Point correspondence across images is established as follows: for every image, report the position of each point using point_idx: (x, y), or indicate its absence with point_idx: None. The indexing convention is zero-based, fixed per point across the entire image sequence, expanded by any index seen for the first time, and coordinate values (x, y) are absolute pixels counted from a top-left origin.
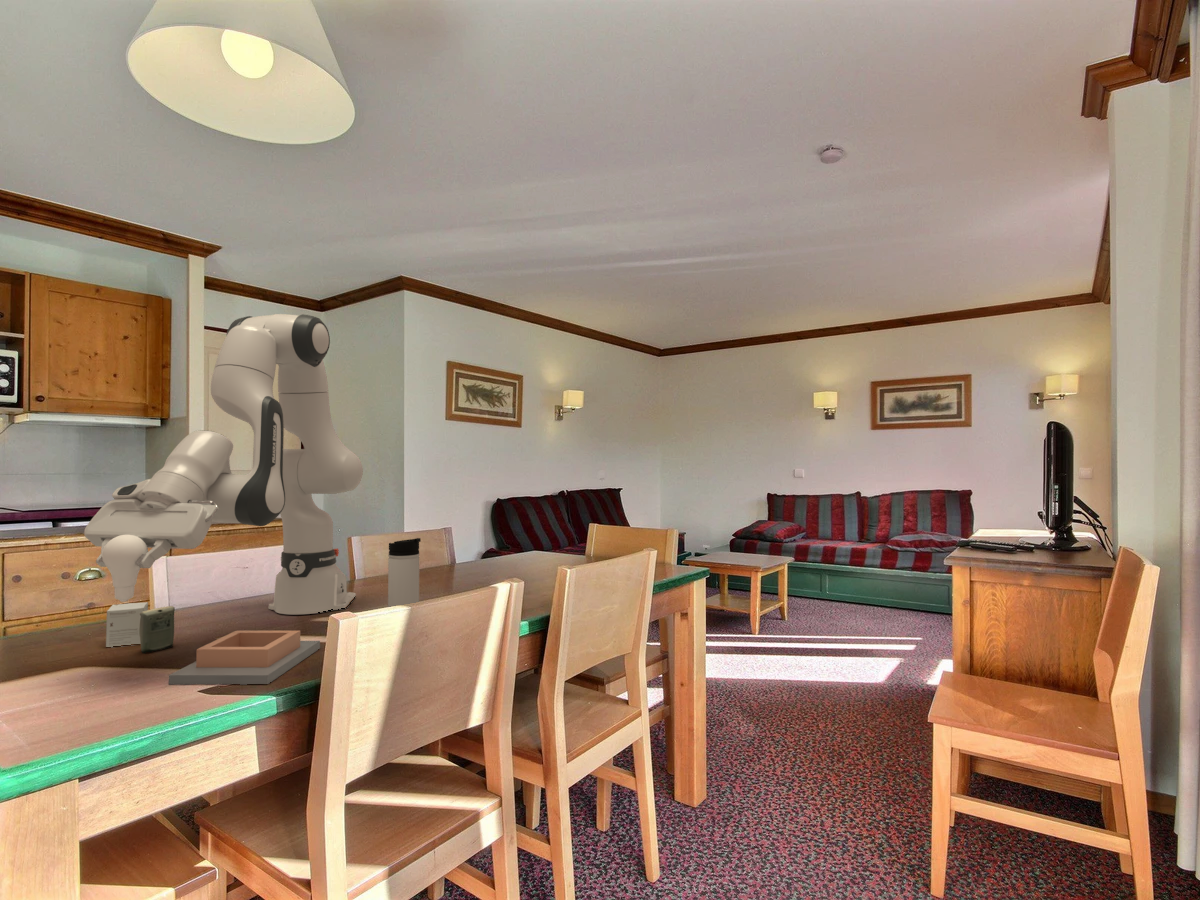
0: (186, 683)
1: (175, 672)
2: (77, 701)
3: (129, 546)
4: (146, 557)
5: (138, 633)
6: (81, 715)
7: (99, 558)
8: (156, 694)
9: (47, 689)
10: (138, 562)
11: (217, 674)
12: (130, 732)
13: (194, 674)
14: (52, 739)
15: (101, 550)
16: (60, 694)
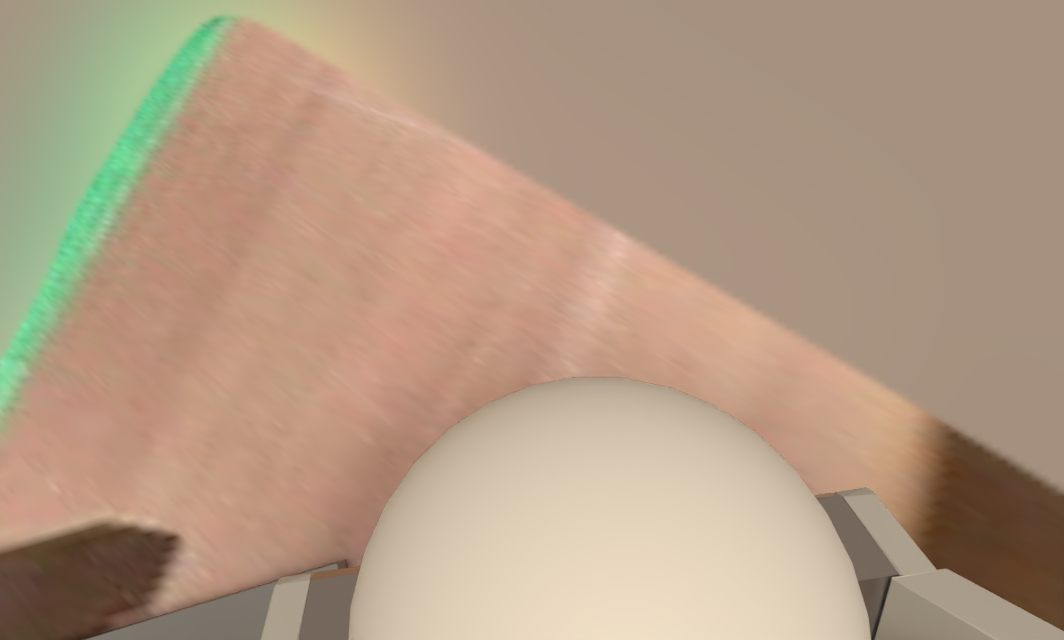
0: (276, 580)
1: None
2: (503, 341)
3: (394, 525)
4: (266, 630)
5: None
6: (374, 262)
7: (858, 509)
8: (302, 465)
9: (718, 395)
10: (350, 569)
11: (142, 632)
12: (117, 211)
13: (239, 603)
14: (289, 129)
15: (978, 587)
16: (624, 372)
